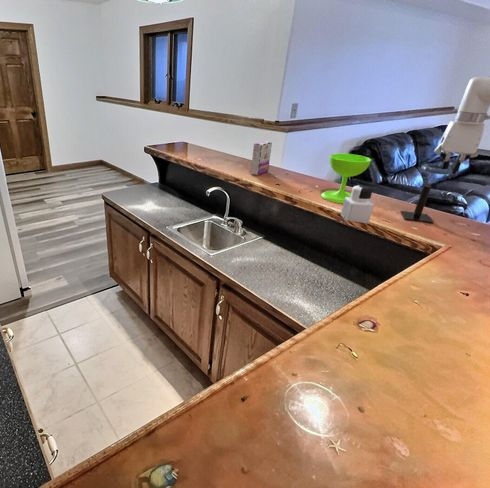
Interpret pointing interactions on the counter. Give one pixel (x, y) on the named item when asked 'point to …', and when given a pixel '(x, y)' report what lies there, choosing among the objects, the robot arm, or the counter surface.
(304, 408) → the counter surface
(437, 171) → the ring
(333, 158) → the wineglass
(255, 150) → the candy bar box
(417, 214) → the stand
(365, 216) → the container
